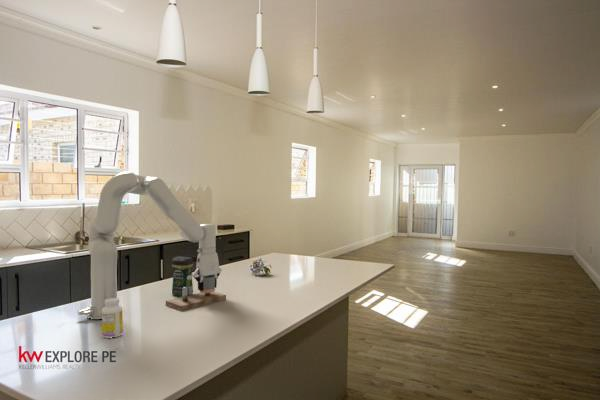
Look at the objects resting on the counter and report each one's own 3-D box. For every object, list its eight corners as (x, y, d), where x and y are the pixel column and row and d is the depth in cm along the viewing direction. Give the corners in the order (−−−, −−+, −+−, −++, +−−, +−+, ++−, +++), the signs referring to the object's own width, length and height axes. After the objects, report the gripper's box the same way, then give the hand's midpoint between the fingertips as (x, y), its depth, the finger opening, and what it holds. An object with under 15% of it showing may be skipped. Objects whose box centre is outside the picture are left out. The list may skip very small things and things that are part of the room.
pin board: (180, 310, 173) (180, 306, 173) (165, 305, 181) (165, 300, 181) (226, 299, 191) (226, 294, 191) (210, 294, 199) (210, 290, 199)
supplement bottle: (117, 330, 149) (116, 296, 149) (126, 335, 145) (125, 299, 145) (98, 336, 144) (98, 299, 144) (107, 340, 140) (106, 303, 139)
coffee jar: (169, 295, 197) (168, 257, 197) (180, 291, 205) (180, 254, 204) (185, 297, 193) (184, 258, 193) (195, 293, 201) (195, 256, 200)
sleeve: (205, 293, 186) (205, 278, 186) (197, 291, 190) (197, 276, 190) (217, 291, 191) (217, 276, 191) (209, 288, 195) (209, 274, 195)
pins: (184, 301, 180) (184, 287, 180) (181, 300, 181) (181, 286, 181) (211, 295, 191) (211, 281, 190) (208, 294, 192) (208, 281, 192)
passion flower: (255, 284, 242) (243, 268, 243) (264, 277, 251) (253, 261, 252) (267, 276, 236) (255, 259, 237) (276, 269, 246) (265, 252, 247)
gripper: (196, 253, 181) (196, 293, 181) (227, 249, 194) (227, 286, 194) (186, 251, 186) (186, 291, 186) (217, 247, 199) (217, 284, 199)
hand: (207, 288), depth 190 cm, fingers closed on sleeve, 6 cm apart
